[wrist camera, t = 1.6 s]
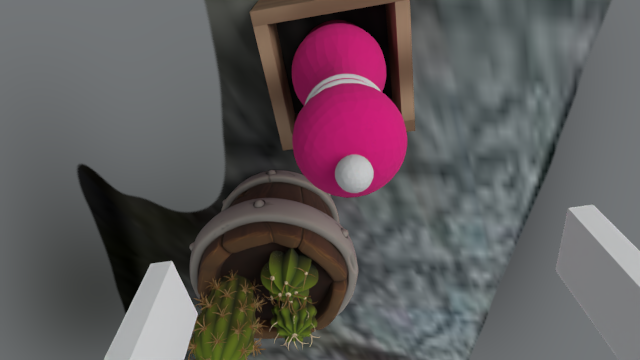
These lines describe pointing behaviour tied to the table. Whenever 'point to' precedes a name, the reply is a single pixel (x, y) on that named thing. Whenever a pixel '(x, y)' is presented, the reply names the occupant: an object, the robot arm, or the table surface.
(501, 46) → the table surface
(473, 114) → the table surface
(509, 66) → the table surface
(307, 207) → the flowerpot
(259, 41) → the wooden box
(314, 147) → the pepper mill
